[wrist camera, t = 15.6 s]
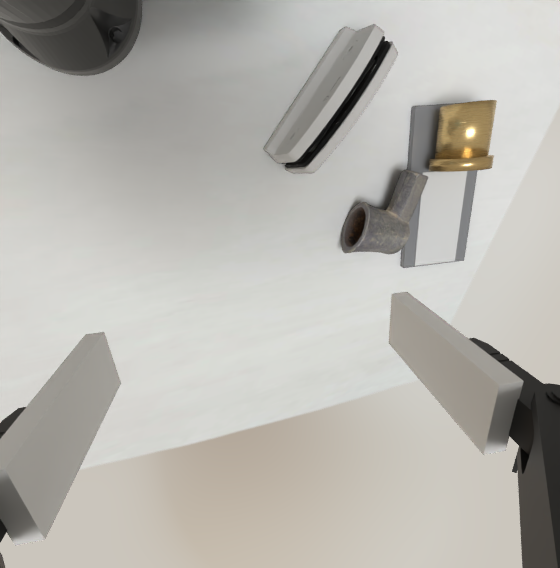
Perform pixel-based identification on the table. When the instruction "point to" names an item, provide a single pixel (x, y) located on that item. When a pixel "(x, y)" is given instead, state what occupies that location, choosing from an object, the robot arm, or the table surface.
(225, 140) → the table surface
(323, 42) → the table surface
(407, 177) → the pipe
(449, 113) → the cylinder
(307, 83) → the grey napkin holder
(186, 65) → the table surface
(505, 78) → the table surface
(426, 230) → the base
